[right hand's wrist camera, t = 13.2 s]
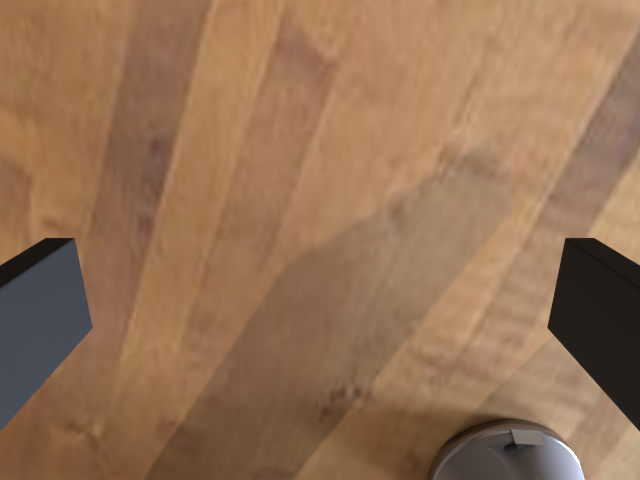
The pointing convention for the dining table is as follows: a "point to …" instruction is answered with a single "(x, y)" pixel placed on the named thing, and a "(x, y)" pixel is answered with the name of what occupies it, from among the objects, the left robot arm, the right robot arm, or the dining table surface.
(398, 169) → the dining table surface
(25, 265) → the right robot arm
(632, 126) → the dining table surface
